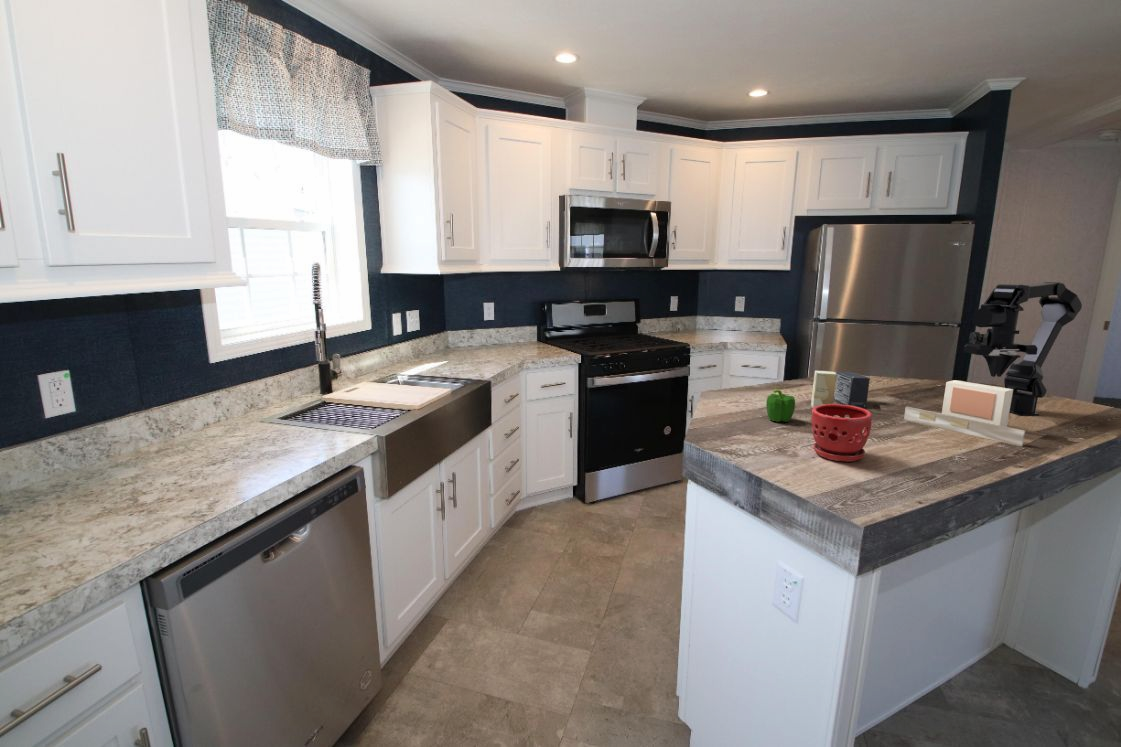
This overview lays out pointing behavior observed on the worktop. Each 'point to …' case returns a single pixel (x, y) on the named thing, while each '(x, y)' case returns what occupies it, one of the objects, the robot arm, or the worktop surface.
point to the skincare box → (823, 388)
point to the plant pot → (840, 431)
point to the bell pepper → (780, 407)
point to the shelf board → (972, 427)
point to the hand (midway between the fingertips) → (995, 376)
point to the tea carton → (977, 402)
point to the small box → (851, 389)
